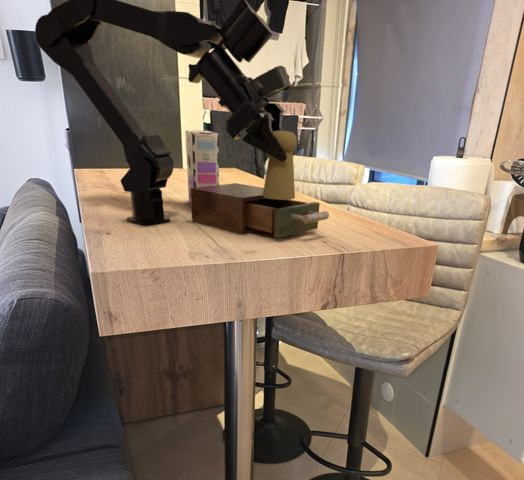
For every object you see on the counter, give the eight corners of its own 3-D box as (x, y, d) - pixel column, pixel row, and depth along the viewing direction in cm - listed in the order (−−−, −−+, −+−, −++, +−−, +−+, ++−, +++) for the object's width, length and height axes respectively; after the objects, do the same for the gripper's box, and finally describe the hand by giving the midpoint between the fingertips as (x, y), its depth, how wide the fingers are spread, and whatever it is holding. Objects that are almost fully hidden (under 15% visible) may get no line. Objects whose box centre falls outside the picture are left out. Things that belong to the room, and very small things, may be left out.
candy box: (220, 212, 103) (219, 132, 95) (194, 213, 102) (191, 131, 94) (211, 201, 115) (209, 129, 107) (187, 202, 113) (184, 129, 106)
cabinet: (285, 225, 93) (286, 191, 90) (241, 234, 85) (242, 197, 82) (235, 214, 102) (235, 183, 99) (191, 221, 94) (190, 188, 91)
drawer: (335, 232, 85) (338, 206, 83) (297, 242, 77) (299, 213, 75) (266, 217, 95) (266, 193, 93) (226, 224, 88) (226, 199, 86)
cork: (260, 193, 86) (263, 129, 81) (291, 194, 87) (296, 130, 82) (264, 199, 81) (267, 130, 76) (298, 200, 82) (303, 132, 76)
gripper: (247, 36, 66) (315, 125, 69) (276, 52, 82) (330, 124, 85) (197, 96, 71) (262, 176, 74) (234, 100, 87) (286, 166, 90)
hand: (288, 158), depth 80 cm, fingers closed on cork, 5 cm apart
